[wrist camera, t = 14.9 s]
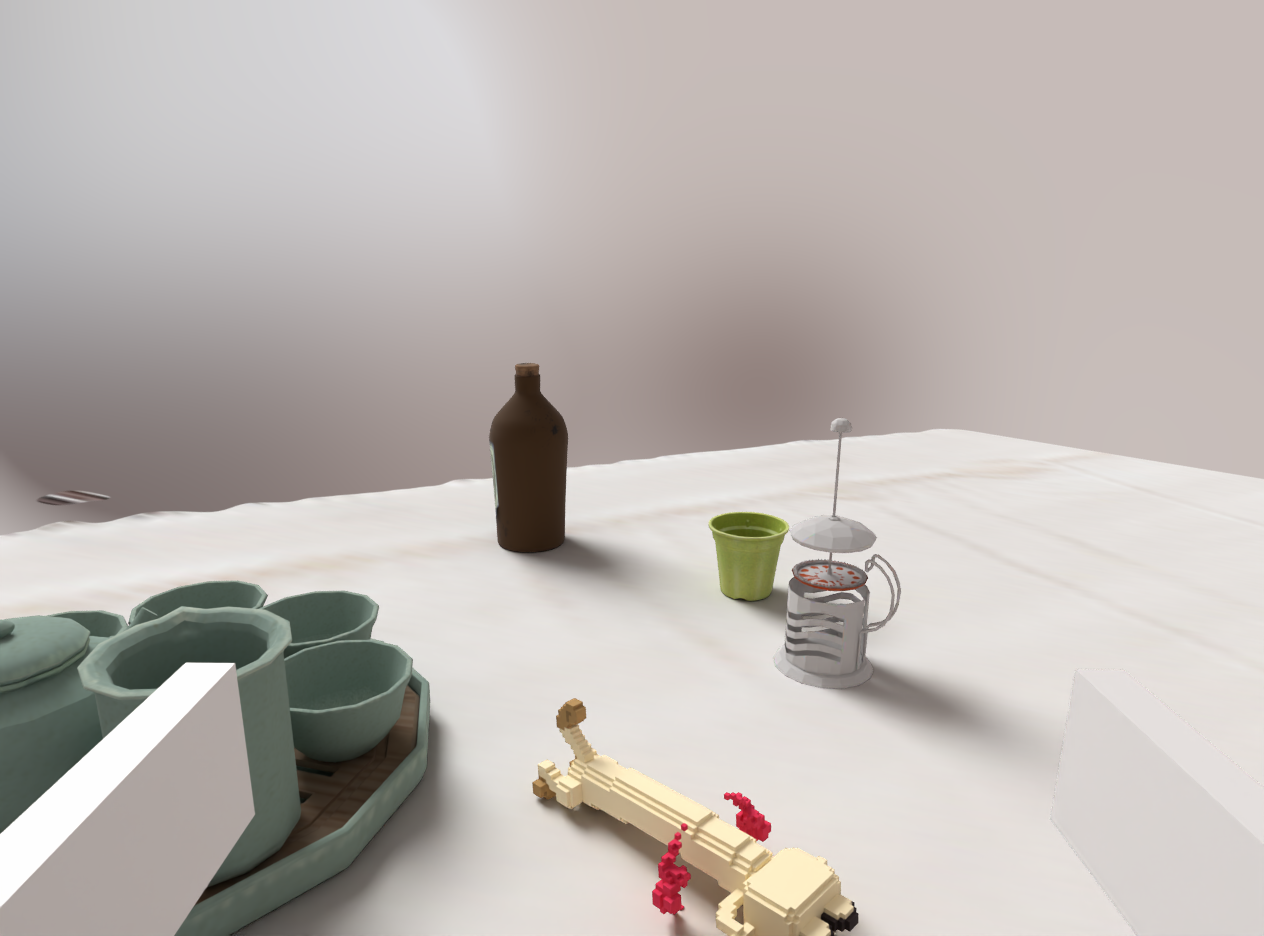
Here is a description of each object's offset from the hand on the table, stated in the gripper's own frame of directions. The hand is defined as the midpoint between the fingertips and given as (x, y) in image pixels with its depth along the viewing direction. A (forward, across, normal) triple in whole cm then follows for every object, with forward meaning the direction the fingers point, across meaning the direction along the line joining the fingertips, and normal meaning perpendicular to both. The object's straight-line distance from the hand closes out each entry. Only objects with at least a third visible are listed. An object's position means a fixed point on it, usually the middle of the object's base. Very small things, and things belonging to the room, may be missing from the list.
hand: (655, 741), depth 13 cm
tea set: (+43, -36, -32) cm, 65 cm away
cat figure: (+34, +3, -32) cm, 47 cm away
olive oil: (+96, -14, -32) cm, 102 cm away
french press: (+61, +20, -32) cm, 72 cm away
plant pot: (+79, +14, -32) cm, 86 cm away
